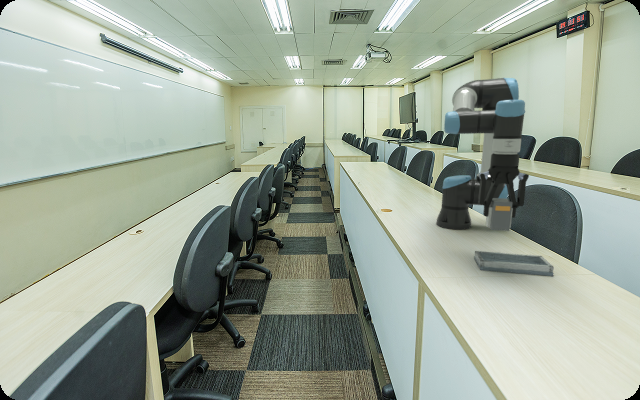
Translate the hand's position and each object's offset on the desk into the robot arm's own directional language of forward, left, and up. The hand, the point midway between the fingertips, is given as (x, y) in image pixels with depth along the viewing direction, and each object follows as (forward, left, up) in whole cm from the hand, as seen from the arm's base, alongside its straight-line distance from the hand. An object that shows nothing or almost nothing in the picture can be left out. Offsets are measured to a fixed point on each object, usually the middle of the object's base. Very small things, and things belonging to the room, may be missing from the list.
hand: (497, 226), depth 101 cm
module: (0, 0, 0) cm, 0 cm away
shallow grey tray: (0, +5, -13) cm, 14 cm away
